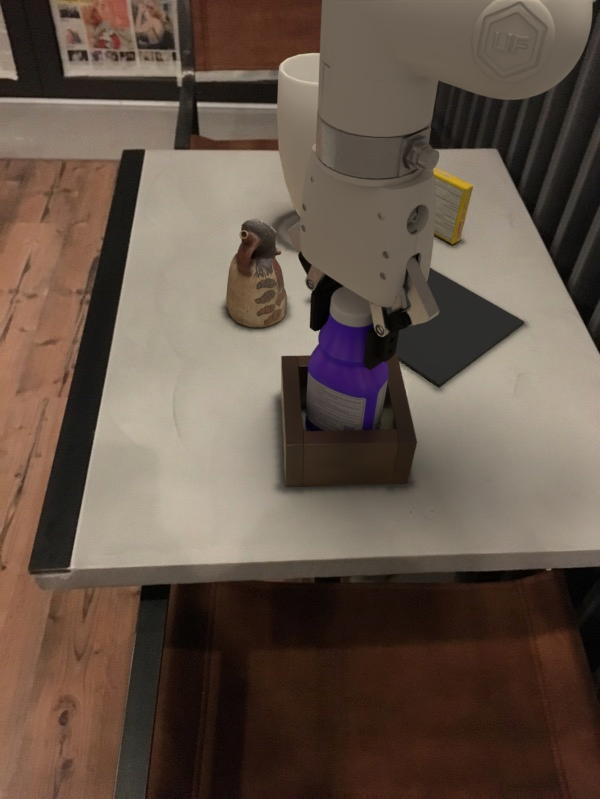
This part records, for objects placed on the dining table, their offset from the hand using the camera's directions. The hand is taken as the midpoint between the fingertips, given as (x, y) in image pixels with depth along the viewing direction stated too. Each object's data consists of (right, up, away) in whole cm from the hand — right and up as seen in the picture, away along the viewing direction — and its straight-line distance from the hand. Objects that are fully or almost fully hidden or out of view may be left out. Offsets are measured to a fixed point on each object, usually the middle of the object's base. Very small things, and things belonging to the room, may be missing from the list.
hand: (351, 340), depth 59 cm
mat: (+10, +5, +24) cm, 26 cm away
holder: (0, -9, +9) cm, 13 cm away
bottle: (0, -9, +9) cm, 13 cm away
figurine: (-10, +6, +23) cm, 26 cm away
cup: (-3, +18, +36) cm, 40 cm away
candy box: (+12, +21, +38) cm, 45 cm away
